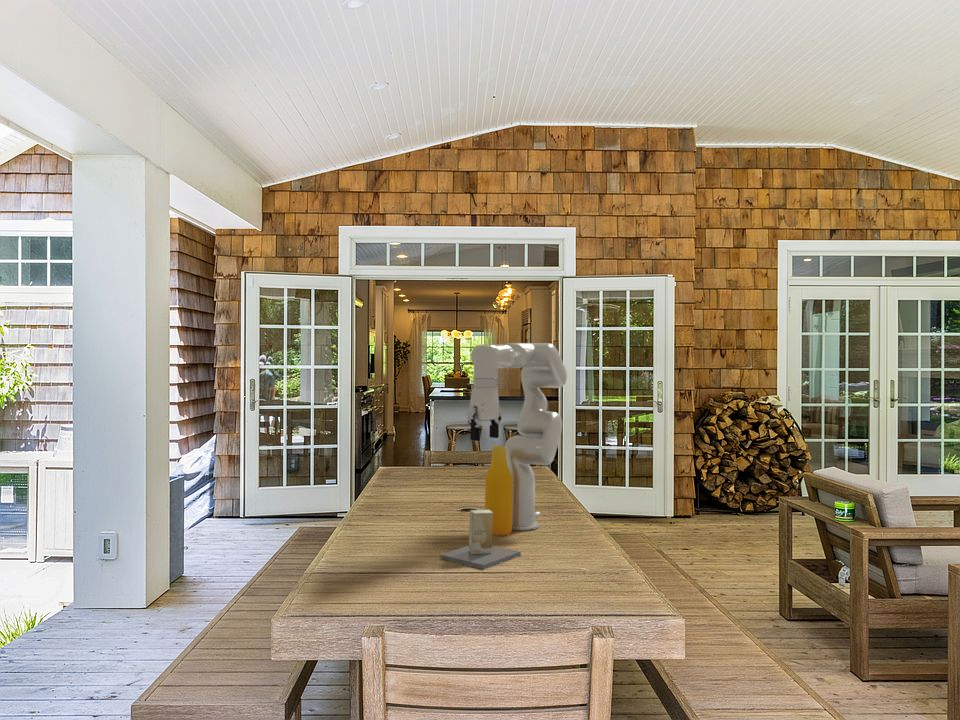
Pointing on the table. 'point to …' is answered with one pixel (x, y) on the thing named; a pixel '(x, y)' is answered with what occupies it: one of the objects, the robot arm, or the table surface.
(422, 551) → the table surface
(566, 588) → the table surface
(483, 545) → the skincare box
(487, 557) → the slate board
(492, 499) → the beer bottle
